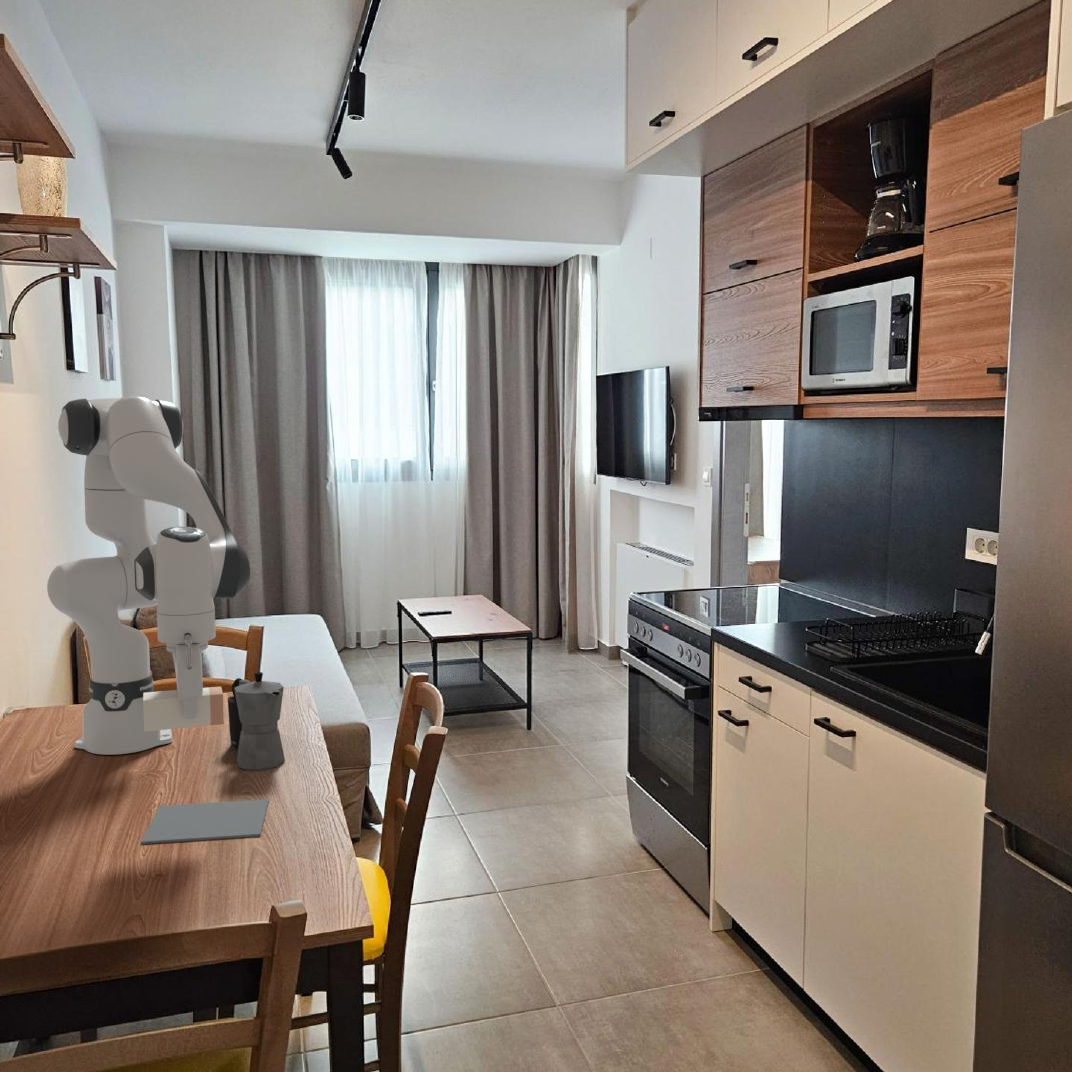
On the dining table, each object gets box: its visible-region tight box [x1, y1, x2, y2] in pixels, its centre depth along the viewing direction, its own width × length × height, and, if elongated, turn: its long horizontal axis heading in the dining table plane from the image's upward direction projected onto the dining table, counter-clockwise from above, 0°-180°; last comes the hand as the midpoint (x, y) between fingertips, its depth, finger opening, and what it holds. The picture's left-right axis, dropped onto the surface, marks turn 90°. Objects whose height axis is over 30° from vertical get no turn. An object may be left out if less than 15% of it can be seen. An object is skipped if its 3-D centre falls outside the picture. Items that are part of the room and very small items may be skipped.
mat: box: [140, 798, 270, 845], centre depth 162 cm, size 15×18×1 cm
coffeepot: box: [231, 671, 286, 771], centre depth 191 cm, size 15×9×18 cm, turn 50°
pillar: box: [143, 686, 225, 732], centre depth 159 cm, size 5×5×12 cm
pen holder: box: [227, 695, 242, 751], centre depth 201 cm, size 9×9×10 cm
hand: (189, 712), depth 159 cm, fingers closed on pillar, 5 cm apart
